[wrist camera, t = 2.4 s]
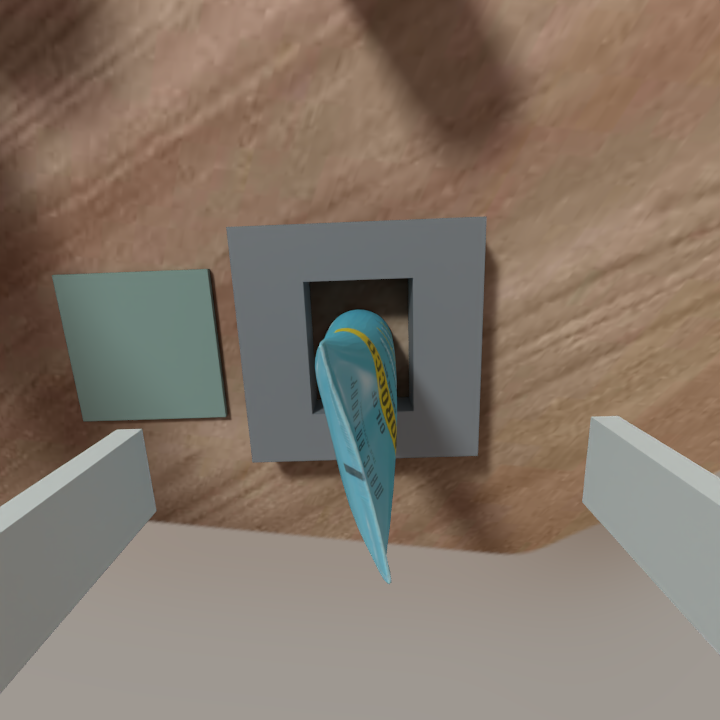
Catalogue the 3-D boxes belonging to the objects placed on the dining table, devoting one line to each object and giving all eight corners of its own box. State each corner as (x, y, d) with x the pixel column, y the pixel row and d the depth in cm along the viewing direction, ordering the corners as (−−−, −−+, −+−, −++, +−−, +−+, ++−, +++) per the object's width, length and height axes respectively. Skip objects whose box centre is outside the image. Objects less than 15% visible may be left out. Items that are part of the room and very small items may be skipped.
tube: (405, 376, 30) (472, 562, 12) (345, 396, 31) (316, 607, 12) (373, 281, 29) (391, 320, 10) (310, 303, 29) (212, 382, 10)
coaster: (87, 419, 31) (83, 421, 31) (55, 274, 29) (51, 275, 28) (227, 415, 31) (225, 416, 31) (209, 269, 28) (207, 269, 28)
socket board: (262, 443, 32) (252, 462, 29) (240, 230, 28) (226, 227, 25) (467, 437, 31) (477, 455, 28) (473, 221, 28) (486, 216, 25)
